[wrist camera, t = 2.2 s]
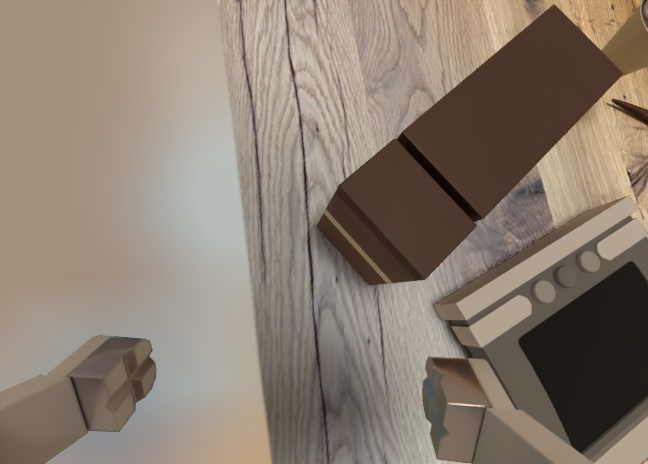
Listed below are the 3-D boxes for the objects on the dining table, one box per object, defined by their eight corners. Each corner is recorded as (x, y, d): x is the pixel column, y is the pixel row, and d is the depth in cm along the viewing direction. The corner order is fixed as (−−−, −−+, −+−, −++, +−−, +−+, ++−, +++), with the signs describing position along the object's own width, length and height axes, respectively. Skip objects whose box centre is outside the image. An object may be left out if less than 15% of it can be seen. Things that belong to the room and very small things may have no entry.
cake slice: (369, 285, 23) (424, 280, 14) (316, 226, 23) (338, 185, 15) (405, 250, 24) (477, 225, 15) (353, 193, 24) (395, 137, 16)
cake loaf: (409, 246, 24) (483, 219, 15) (357, 189, 24) (402, 131, 16) (514, 143, 27) (624, 73, 19) (467, 95, 28) (554, 3, 19)
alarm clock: (629, 195, 24) (788, 397, 21) (576, 214, 28) (700, 383, 25) (456, 303, 20) (619, 567, 17) (426, 305, 25) (551, 516, 22)
